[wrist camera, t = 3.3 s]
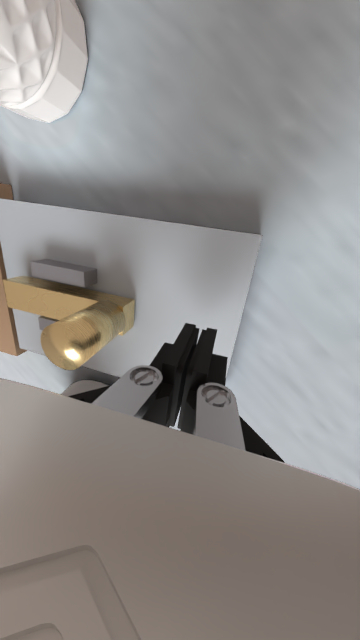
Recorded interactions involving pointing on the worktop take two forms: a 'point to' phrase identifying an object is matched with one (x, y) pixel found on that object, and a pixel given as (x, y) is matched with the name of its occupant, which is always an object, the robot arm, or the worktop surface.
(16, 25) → the white cup
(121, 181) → the worktop surface
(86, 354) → the bolt
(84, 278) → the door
